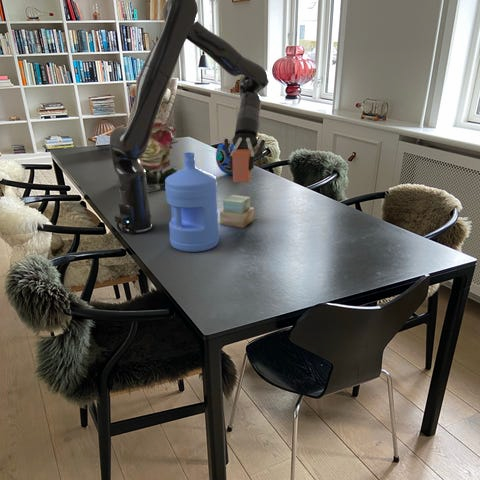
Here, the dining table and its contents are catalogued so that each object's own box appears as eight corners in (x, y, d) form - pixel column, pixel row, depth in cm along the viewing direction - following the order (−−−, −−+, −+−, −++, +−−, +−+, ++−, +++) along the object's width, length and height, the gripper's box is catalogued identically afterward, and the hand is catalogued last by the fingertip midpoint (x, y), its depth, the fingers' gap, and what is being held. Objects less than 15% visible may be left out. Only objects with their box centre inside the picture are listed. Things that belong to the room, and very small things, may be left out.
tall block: (248, 182, 159) (248, 152, 154) (232, 182, 160) (232, 152, 155) (251, 178, 163) (251, 149, 158) (236, 177, 164) (235, 148, 159)
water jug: (194, 231, 166) (188, 146, 151) (229, 241, 157) (226, 152, 143) (160, 245, 155) (150, 154, 141) (195, 257, 147) (189, 162, 132)
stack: (243, 227, 168) (242, 203, 164) (220, 224, 172) (219, 200, 167) (253, 219, 175) (254, 196, 171) (231, 216, 178) (231, 193, 174)
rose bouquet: (115, 181, 223) (105, 110, 208) (177, 174, 232) (172, 106, 216) (124, 196, 202) (114, 119, 187) (192, 188, 211) (187, 114, 196)
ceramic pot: (211, 177, 226) (210, 144, 218) (221, 168, 241) (220, 137, 233) (248, 179, 222) (248, 145, 215) (256, 170, 237) (256, 138, 229)
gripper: (224, 116, 159) (217, 161, 156) (267, 116, 157) (261, 163, 153) (228, 130, 167) (221, 174, 163) (270, 131, 164) (264, 176, 160)
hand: (241, 168), depth 158 cm, fingers closed on tall block, 5 cm apart
